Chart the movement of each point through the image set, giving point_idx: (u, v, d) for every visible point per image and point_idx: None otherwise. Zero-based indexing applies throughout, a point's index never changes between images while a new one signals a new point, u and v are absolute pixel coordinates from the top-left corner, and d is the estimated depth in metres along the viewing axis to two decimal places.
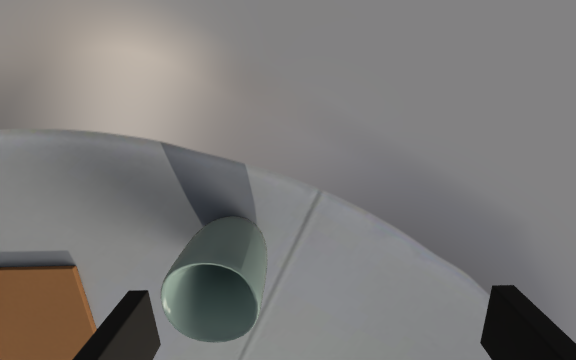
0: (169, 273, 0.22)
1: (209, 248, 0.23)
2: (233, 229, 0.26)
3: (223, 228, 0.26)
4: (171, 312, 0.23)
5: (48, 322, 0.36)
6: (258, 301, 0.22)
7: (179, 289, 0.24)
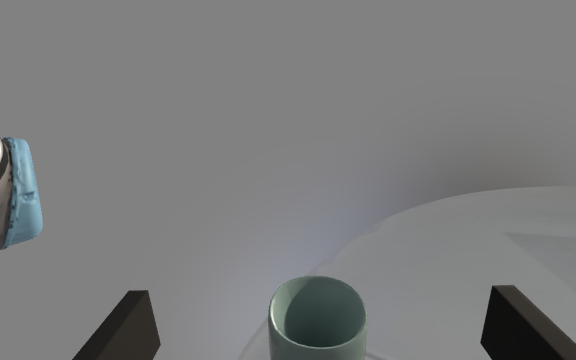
0: (278, 334, 0.21)
1: None
2: None
3: None
4: (332, 347, 0.20)
5: None
6: (314, 276, 0.26)
7: None
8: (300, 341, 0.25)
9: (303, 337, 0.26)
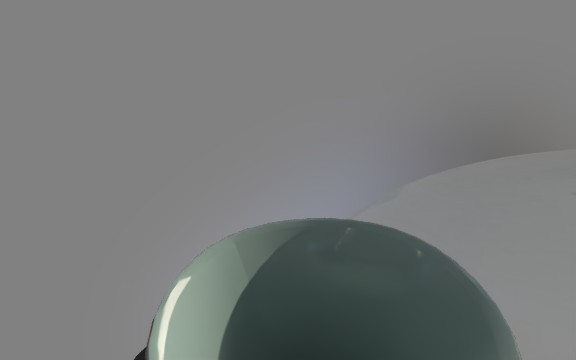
0: None
1: None
2: None
3: None
4: None
5: None
6: (309, 220, 0.11)
7: None
8: None
9: None
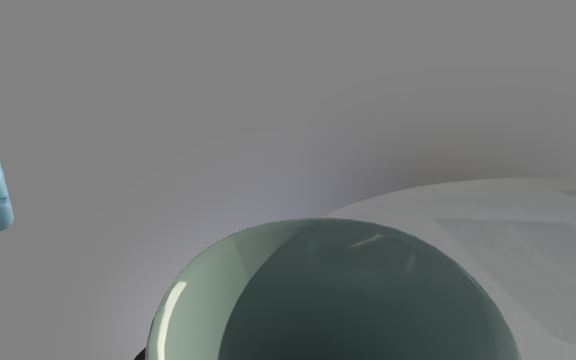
0: None
1: None
2: None
3: None
4: None
5: None
6: (309, 220, 0.11)
7: None
8: None
9: None
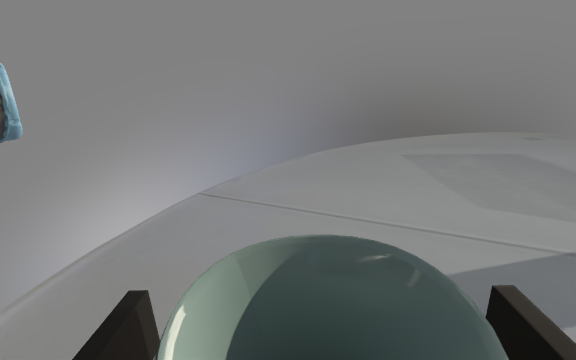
0: None
1: None
2: None
3: None
4: None
5: None
6: None
7: None
8: None
9: None
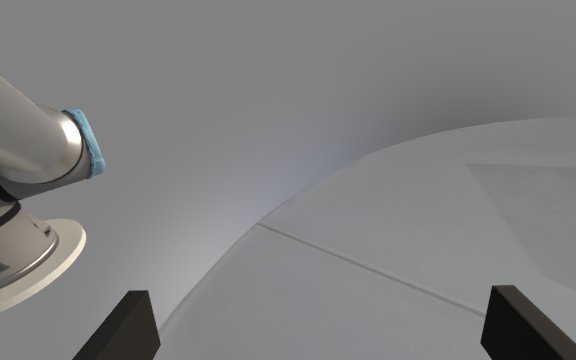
0: None
1: None
2: None
3: None
4: None
5: None
6: None
7: None
8: None
9: None
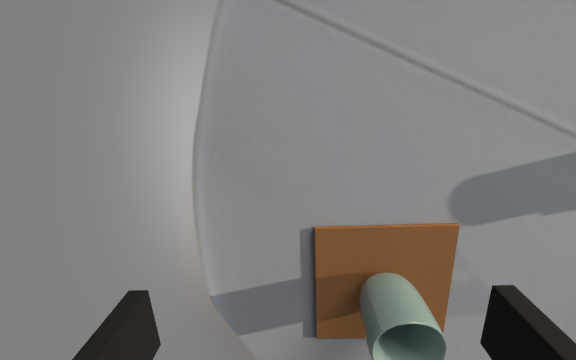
0: None
1: (367, 338, 0.32)
2: (362, 307, 0.34)
3: (361, 313, 0.35)
4: None
5: (373, 262, 0.38)
6: (410, 321, 0.29)
7: None
8: None
9: None
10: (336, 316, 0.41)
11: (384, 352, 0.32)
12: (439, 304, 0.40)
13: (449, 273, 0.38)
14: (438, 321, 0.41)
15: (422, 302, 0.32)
